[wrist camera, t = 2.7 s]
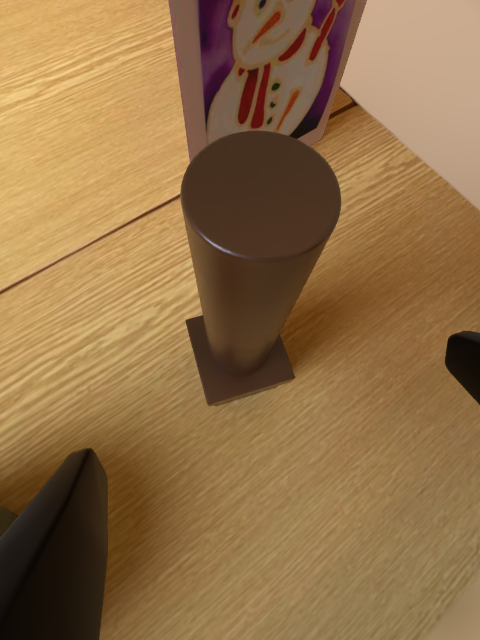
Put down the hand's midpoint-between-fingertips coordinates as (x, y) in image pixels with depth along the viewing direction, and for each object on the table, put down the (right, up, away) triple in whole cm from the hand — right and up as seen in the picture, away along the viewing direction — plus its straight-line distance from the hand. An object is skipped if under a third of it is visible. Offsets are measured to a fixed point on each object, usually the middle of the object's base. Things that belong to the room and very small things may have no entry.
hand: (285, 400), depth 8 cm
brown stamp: (-1, -1, +11) cm, 11 cm away
